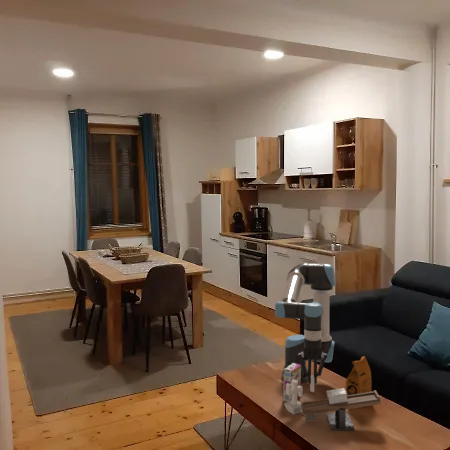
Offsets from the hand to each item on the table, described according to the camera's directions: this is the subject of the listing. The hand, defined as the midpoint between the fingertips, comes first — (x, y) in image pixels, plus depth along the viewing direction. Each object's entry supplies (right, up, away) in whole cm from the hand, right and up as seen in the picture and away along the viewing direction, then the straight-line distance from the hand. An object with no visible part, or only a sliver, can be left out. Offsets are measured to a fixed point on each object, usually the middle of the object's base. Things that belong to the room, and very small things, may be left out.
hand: (312, 390), depth 210 cm
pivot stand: (+13, -15, +1) cm, 19 cm away
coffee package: (+26, -14, +21) cm, 36 cm away
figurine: (-6, -14, +12) cm, 19 cm away
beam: (+13, -10, 0) cm, 16 cm away
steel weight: (+12, -6, 0) cm, 13 cm away
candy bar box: (-5, -13, +26) cm, 29 cm away
